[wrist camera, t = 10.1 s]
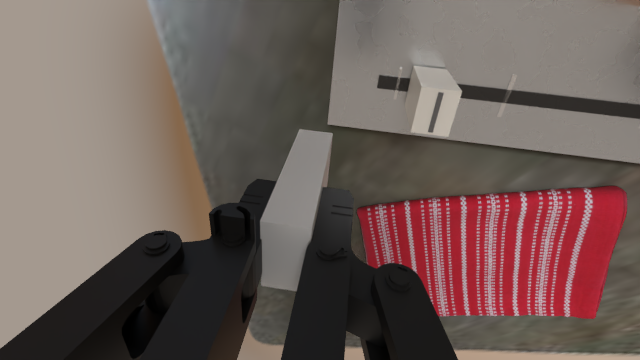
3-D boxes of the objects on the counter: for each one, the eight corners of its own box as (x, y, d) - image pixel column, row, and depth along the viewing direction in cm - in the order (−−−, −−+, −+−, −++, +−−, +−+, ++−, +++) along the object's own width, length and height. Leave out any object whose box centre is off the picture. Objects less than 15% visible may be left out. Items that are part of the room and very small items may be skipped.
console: (354, -126, 22) (352, -133, 20) (841, -88, 20) (887, -92, 18) (330, 115, 30) (327, 124, 28) (667, 156, 28) (686, 169, 27)
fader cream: (413, 65, 25) (422, 87, 21) (447, 69, 25) (462, 92, 21) (404, 105, 27) (410, 132, 22) (436, 109, 26) (448, 137, 22)
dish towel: (585, 304, 39) (598, 325, 37) (375, 308, 44) (375, 327, 42) (623, 176, 30) (643, 193, 28) (356, 199, 35) (355, 215, 33)
